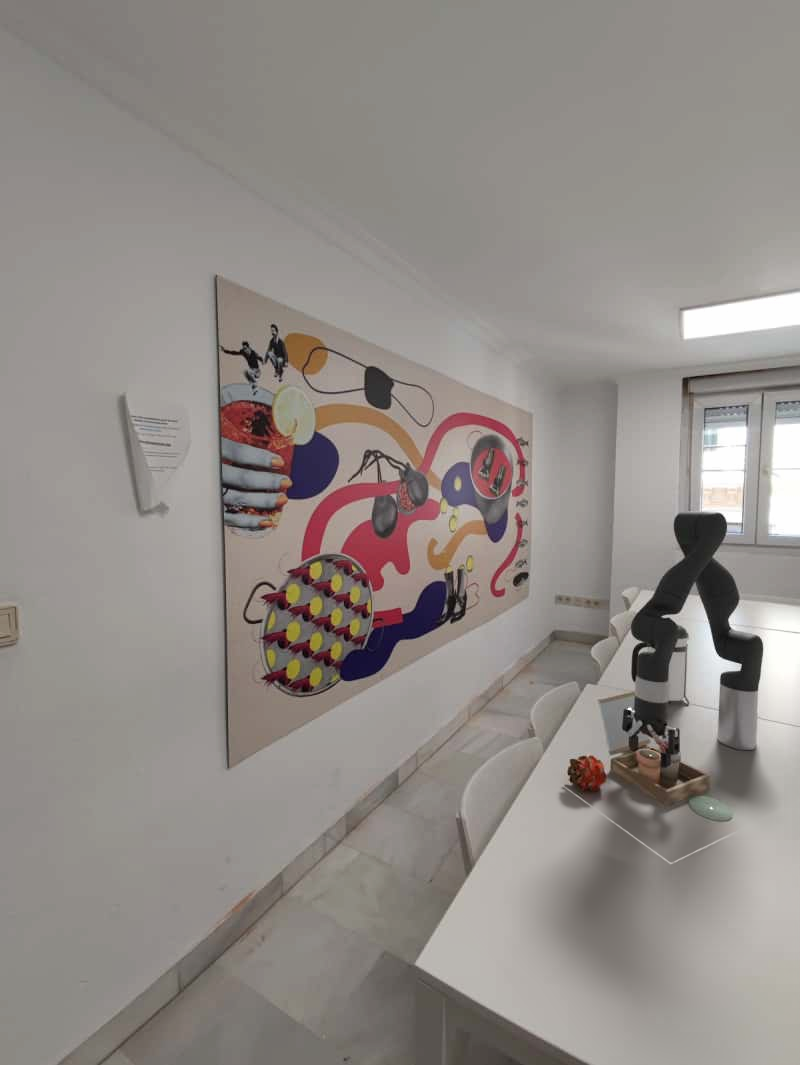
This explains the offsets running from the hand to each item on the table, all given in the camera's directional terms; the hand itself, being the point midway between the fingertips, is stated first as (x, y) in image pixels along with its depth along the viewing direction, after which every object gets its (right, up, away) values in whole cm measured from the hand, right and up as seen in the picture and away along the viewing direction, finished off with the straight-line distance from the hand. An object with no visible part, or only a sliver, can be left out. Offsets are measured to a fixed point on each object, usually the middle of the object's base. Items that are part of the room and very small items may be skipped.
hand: (648, 758), depth 120 cm
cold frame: (+2, -6, +5) cm, 9 cm away
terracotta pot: (0, -6, 0) cm, 6 cm away
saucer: (+9, -7, -10) cm, 15 cm away
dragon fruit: (-16, -7, 0) cm, 17 cm away
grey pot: (+7, -6, +4) cm, 10 cm away
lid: (-1, +5, +11) cm, 12 cm away
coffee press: (+32, -4, +52) cm, 62 cm away
